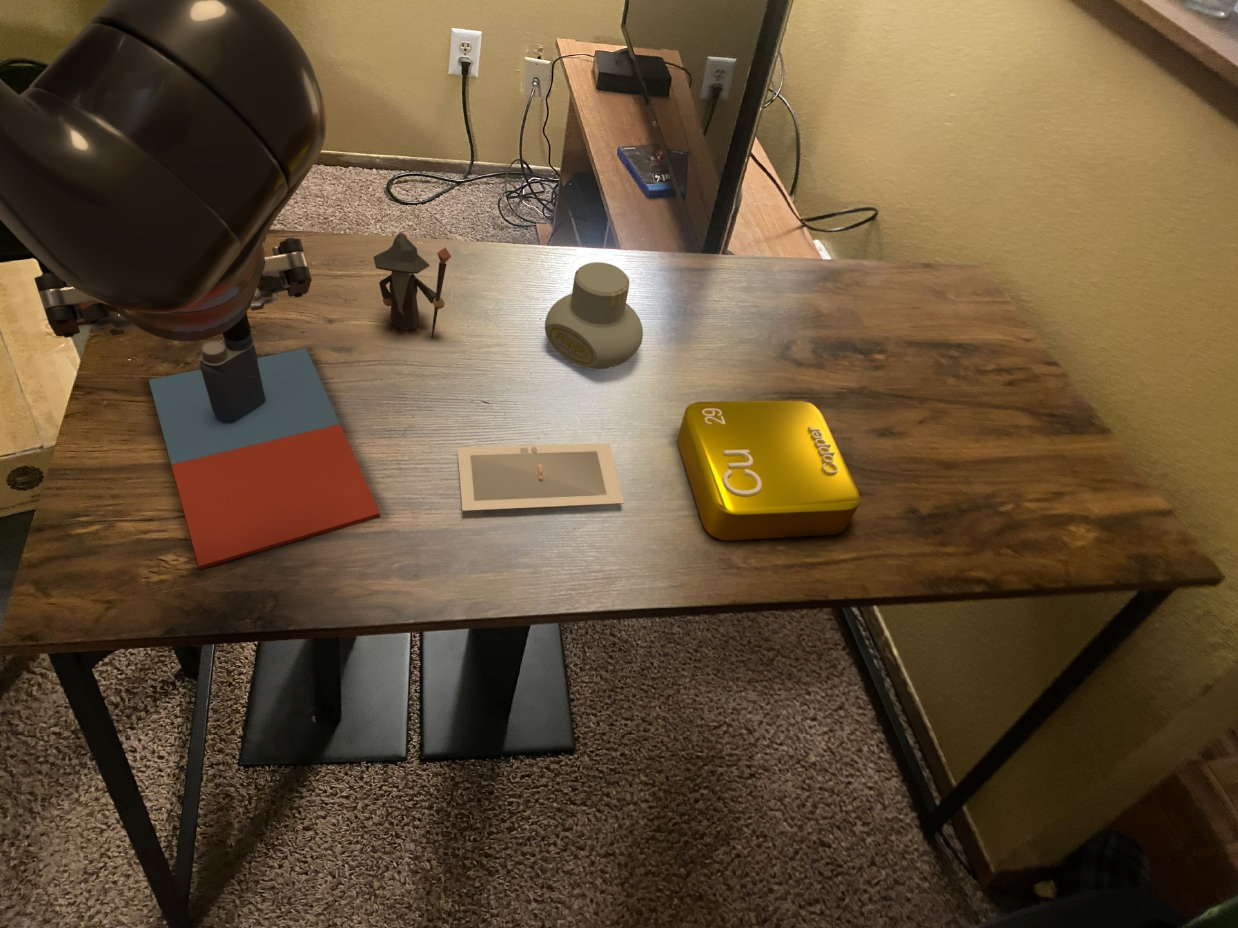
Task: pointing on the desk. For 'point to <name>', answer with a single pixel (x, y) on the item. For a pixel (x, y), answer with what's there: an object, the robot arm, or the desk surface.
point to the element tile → (765, 470)
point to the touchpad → (537, 476)
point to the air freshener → (595, 319)
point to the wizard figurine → (408, 283)
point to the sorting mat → (260, 462)
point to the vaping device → (232, 373)
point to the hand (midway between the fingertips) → (185, 306)
